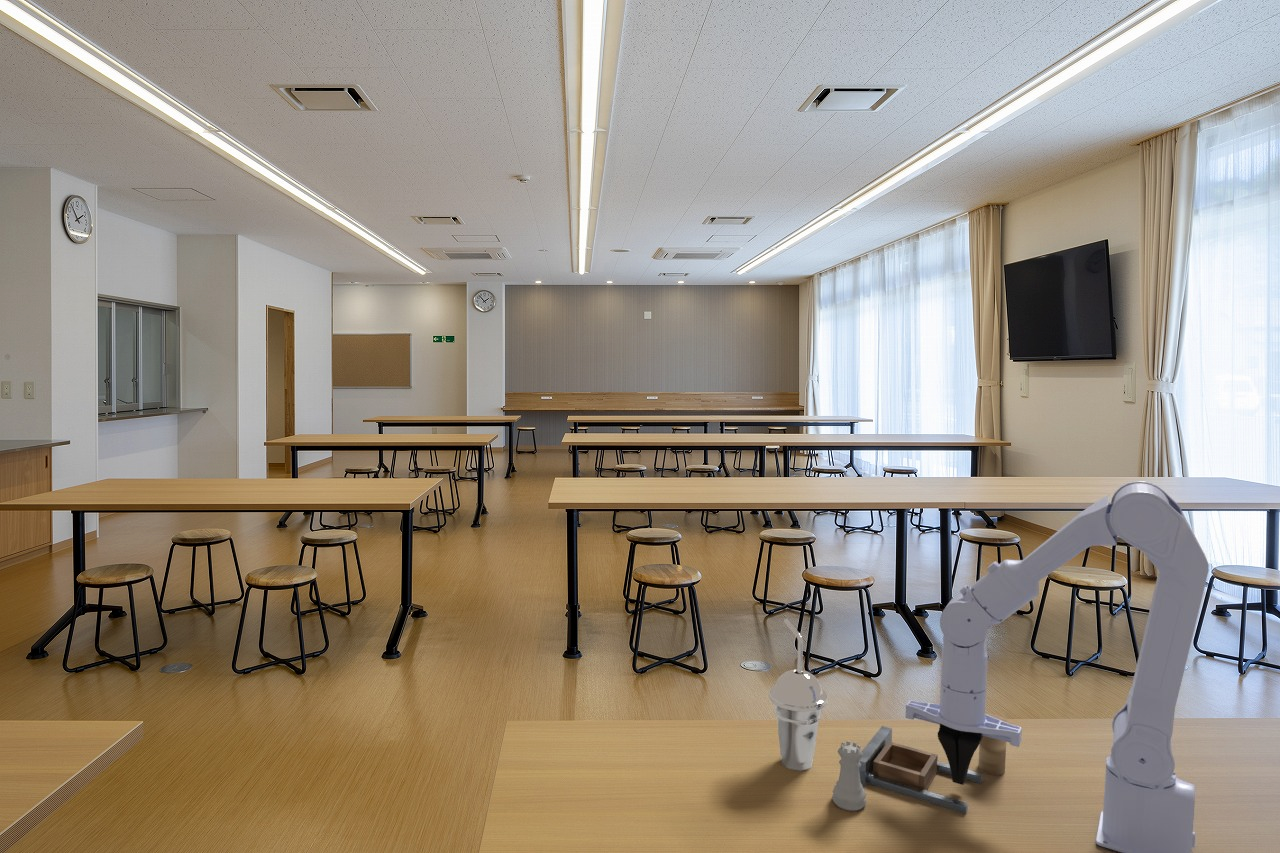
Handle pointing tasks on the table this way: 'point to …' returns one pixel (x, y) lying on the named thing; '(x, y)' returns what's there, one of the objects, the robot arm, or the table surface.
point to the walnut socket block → (906, 765)
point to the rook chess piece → (849, 779)
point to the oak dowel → (992, 753)
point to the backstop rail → (869, 778)
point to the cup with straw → (797, 712)
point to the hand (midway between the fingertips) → (959, 780)
